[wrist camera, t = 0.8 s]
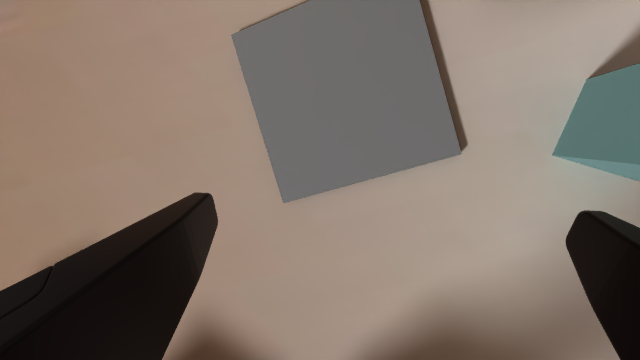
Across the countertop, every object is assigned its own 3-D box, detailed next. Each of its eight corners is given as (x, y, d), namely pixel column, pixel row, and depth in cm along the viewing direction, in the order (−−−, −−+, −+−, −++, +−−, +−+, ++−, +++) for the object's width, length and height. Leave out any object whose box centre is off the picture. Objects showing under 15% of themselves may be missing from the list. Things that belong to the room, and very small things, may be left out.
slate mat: (459, 153, 20) (461, 153, 20) (286, 201, 23) (283, 202, 23) (407, -38, 19) (407, -43, 19) (235, 37, 22) (231, 34, 22)
